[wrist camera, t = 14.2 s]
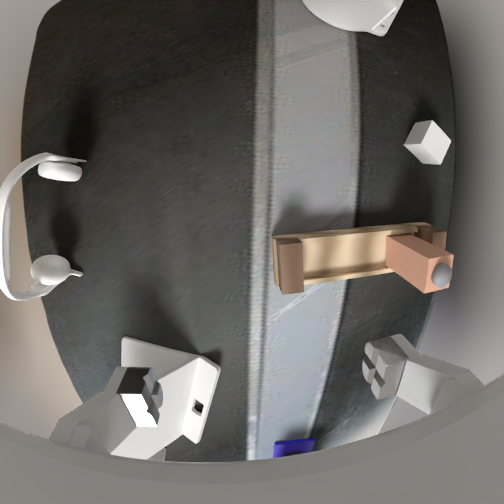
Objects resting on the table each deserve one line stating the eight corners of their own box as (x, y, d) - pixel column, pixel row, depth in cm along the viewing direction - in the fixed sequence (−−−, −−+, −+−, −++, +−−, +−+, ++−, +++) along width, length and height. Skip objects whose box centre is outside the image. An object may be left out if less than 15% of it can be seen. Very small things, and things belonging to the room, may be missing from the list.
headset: (65, 150, 34) (-14, 151, 17) (100, 156, 35) (24, 157, 18) (51, 266, 39) (-12, 312, 22) (83, 278, 40) (23, 332, 23)
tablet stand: (124, 416, 51) (105, 473, 34) (122, 334, 44) (86, 400, 28) (200, 435, 53) (196, 495, 37) (221, 358, 46) (219, 435, 30)
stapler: (316, 436, 56) (326, 466, 47) (302, 480, 64) (308, 503, 55) (270, 441, 55) (275, 473, 46) (266, 484, 64) (269, 508, 54)
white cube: (403, 144, 37) (420, 143, 33) (414, 122, 36) (432, 119, 32) (422, 163, 38) (440, 164, 34) (433, 141, 37) (451, 141, 33)
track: (274, 280, 42) (281, 301, 36) (271, 236, 40) (278, 249, 34) (421, 260, 43) (444, 273, 37) (423, 221, 41) (449, 231, 35)
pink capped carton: (385, 264, 40) (428, 296, 29) (386, 236, 39) (433, 261, 28) (407, 261, 41) (453, 290, 29) (409, 234, 39) (458, 257, 28)
